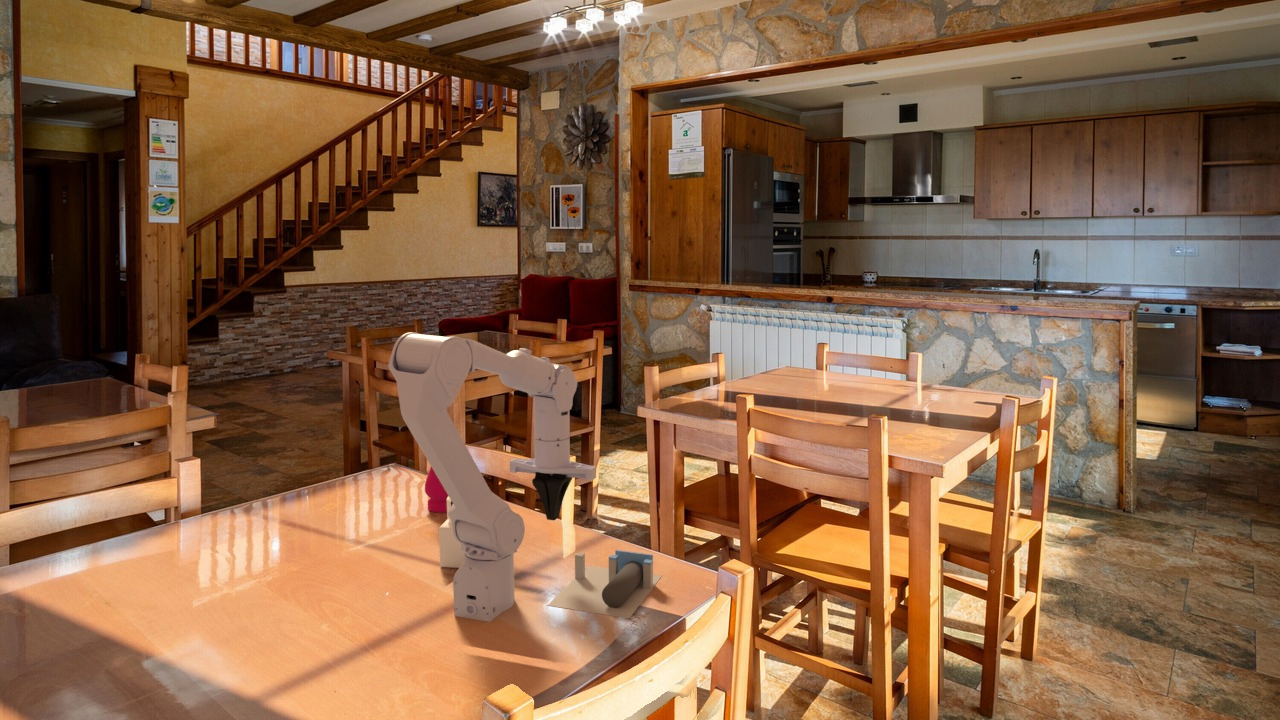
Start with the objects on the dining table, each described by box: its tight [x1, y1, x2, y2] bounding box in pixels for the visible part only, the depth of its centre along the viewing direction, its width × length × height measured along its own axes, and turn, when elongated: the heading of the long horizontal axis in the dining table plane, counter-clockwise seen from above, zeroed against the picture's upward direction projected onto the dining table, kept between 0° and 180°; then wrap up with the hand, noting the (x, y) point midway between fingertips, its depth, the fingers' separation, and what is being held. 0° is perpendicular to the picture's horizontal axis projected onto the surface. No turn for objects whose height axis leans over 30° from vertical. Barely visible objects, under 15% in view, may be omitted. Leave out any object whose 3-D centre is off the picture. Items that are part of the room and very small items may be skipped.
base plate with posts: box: [546, 549, 663, 619], centre depth 128 cm, size 16×13×6 cm
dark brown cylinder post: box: [602, 561, 643, 608], centre depth 127 cm, size 10×4×4 cm, turn 161°
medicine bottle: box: [438, 496, 465, 569], centre depth 142 cm, size 7×7×12 cm
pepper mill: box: [424, 466, 448, 514], centre depth 169 cm, size 7×7×20 cm
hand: (553, 518), depth 135 cm, fingers closed
